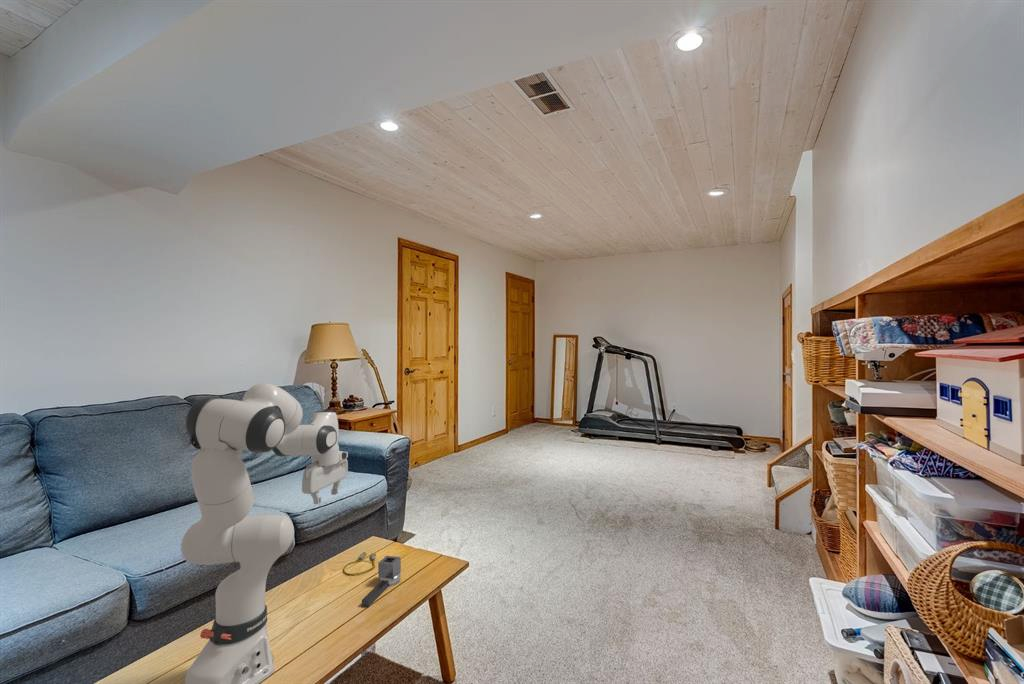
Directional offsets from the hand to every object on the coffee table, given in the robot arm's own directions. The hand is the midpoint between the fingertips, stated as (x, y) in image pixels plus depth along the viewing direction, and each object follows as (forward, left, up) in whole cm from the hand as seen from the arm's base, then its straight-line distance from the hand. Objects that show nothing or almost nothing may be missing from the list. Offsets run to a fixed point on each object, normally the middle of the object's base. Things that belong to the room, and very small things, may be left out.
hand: (326, 498), depth 157 cm
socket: (+10, -18, -29) cm, 35 cm away
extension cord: (+18, -2, -32) cm, 37 cm away
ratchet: (+4, -18, -31) cm, 36 cm away
